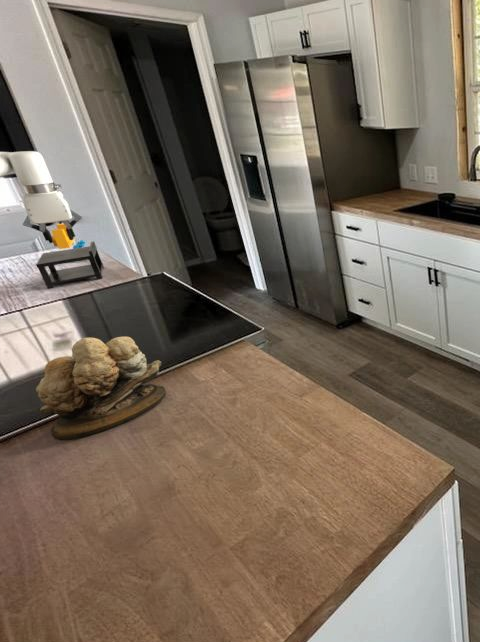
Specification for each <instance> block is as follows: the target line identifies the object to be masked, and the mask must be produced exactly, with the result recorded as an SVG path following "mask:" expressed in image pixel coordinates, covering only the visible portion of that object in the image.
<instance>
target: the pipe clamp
mask: <svg viewBox="0 0 480 642" xmlns="http://www.w3.org/2000/svg"><path fill="white" fill-rule="evenodd" d="M55 226H56V228H55V229H52V230H51V236H52V241H53V242H52V244H53V247H58V250H65V249H71V247H72V245H73V243H74V241H75V238H74V239H73V240H70V239H69V236H68V234H67V232H66V226H65V225H64V223H57V224H56V225H55Z"/></svg>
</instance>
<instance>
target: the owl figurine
mask: <svg viewBox="0 0 480 642" xmlns="http://www.w3.org/2000/svg"><path fill="white" fill-rule="evenodd" d="M161 366H162V361H160V360H159V359H157V360H154V361H152V362H151V363H147V358H146V355H145V354H144V353H143V352H142V351H141V350H140V349H139V346H138V345H137V344H136V341H135V340H134V339H133V338H132V337H130V336H116V337H114V338H111V339H110V340H108V341H107V342H106V343H104V342H103V341H102V339H99V338H95V337H83V338H81V339H79V340H77V341H76V342H75V343H74V344H73V345H72V347H71V356H69V355H67V356H60V357H56V358H53V359H52V360H50V361H48V362H47V363H46V364H45V367H44V368H45V369H44V377H42V378H41V380H40V382H39V383H38V385H37V386H36V388H35V391H36V393H37V395H38V398H39V399H40V401H41V402H42V403H44V404H45V405H43V406H41V408H40V409H39V411H40V413H42V414H55V415H58V416H59V417H58V418H57V419H56V421H55V422H54V424H53V425H52V427H51V429H50V433H51V435H52V437H54V438H55V439H58V440H61V441H64V440H65V441H66V440H67V441H68V440H74V439H79V438H83V437H87V436H91V435H94V434H98V433H100V432H105V431H107V430H110V429H112V428H115V427H117V426H120V425H122V424H125V423H128V422H130V421H132V420H134V419H136V418H138V417H140V416H142V415H144V414H146V413H147V412H149V411H150V410H152V409H153V408H155V407H156V406H157V405H159V404H160V403H161V402H162V401H163V399H164V398H165V397H166V393H167V391H166V388H165V387H164V386H163V385H157V384H151V383H147V382H149V381H151V380H153V379H154V378H156V377H157V376H158V374H159V373H160V372H159V370H160V367H161ZM145 383H146V384H145Z"/></svg>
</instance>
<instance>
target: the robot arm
mask: <svg viewBox="0 0 480 642" xmlns="http://www.w3.org/2000/svg"><path fill="white" fill-rule="evenodd" d="M13 174H15V176H16V178H17V180H18V182H19V185H20V188H21V189H22V191H23V194H22V202H23V205H24V209H25V211H26V214H27V215H26V217H25V219H24V221H23V223H22V226H24V227H28V228H31V229H33V230H35V231H38V232H40V233H42V236H43V238H44V240H45V241H46V242H48V243H49V244H53V241H52V236H53V235H52V233H51V232H50V230H48V229H47V224H50V223H51V224H52V223H59V222H61V223H62V224H64V225H65V226H66V232H67V234H68V236H69V239H70V240H73V239H74V240H75V238H76V234H75V232H74V230H73V228H74V226H75V225H76V224H77V223H78V222H80V221H81V220H82V219H83V216H82V215H80V214H78V213H77V212H75V211H74V210H72V209H71V207H70V205H69V203H68V201H67V199H66V197H65V196H64V194H63V193H62V191H60V190H58V189H62V188H63V187H62V185H61V184H60V183H55V182H54V181H53V178H52V176H51V173H50V170H49V168H48V166H47V164H46V161H45V159H44V157H43V155H42V154H41V153H40V152H39V151H36V150H27V151H26V150H24V151H23V150H22V151H13V152H12V151H10V152H9V151H0V177H4V176H9V175H13ZM70 220H71V221H70Z"/></svg>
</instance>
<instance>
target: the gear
mask: <svg viewBox="0 0 480 642" xmlns="http://www.w3.org/2000/svg"><path fill="white" fill-rule="evenodd" d="M86 242H87V241H86V240H84V239H81V240H80V241H78V242H76V244H75V245H73V246H72V249H75V248H82V247H86ZM87 261H89V259H88V260H87Z"/></svg>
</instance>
